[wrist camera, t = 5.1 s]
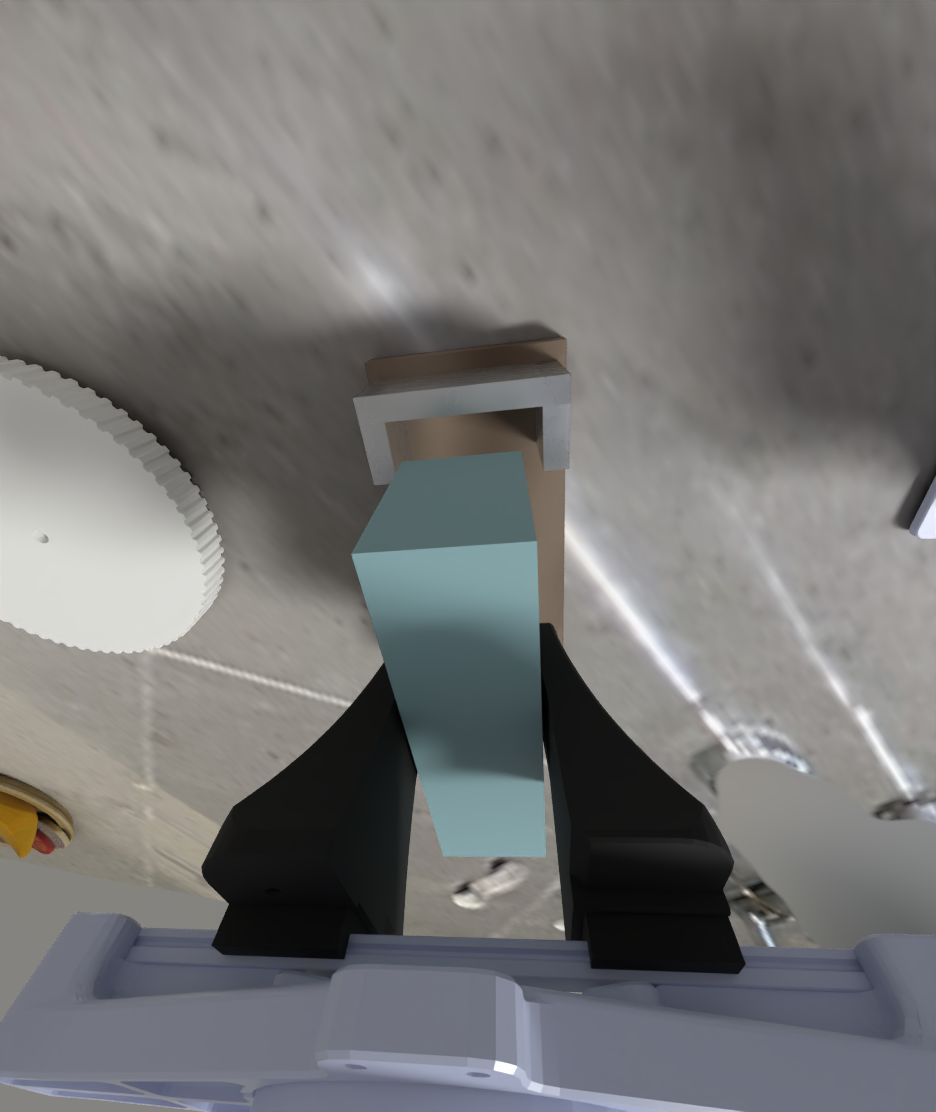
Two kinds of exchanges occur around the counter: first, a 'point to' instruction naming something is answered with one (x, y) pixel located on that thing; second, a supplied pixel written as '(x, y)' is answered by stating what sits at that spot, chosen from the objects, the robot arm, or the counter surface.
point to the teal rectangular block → (463, 644)
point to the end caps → (464, 409)
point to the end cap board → (496, 446)
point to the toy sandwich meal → (32, 819)
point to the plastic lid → (96, 521)
